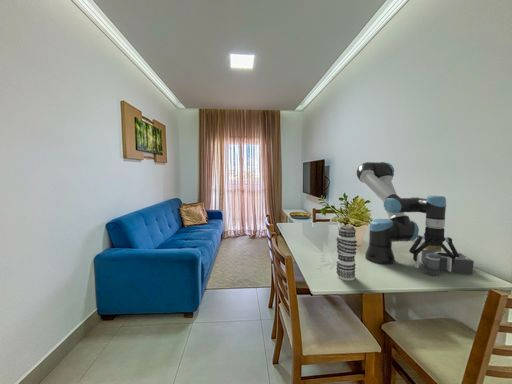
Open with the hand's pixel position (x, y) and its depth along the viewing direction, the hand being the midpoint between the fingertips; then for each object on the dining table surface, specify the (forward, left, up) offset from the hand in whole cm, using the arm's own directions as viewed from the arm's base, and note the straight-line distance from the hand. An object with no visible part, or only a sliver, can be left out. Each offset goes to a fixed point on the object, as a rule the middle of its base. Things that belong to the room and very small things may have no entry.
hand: (432, 268), depth 115 cm
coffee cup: (+10, +27, -3) cm, 29 cm away
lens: (0, 0, -3) cm, 3 cm away
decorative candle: (-42, -16, -3) cm, 45 cm away
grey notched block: (+10, +11, -3) cm, 15 cm away
